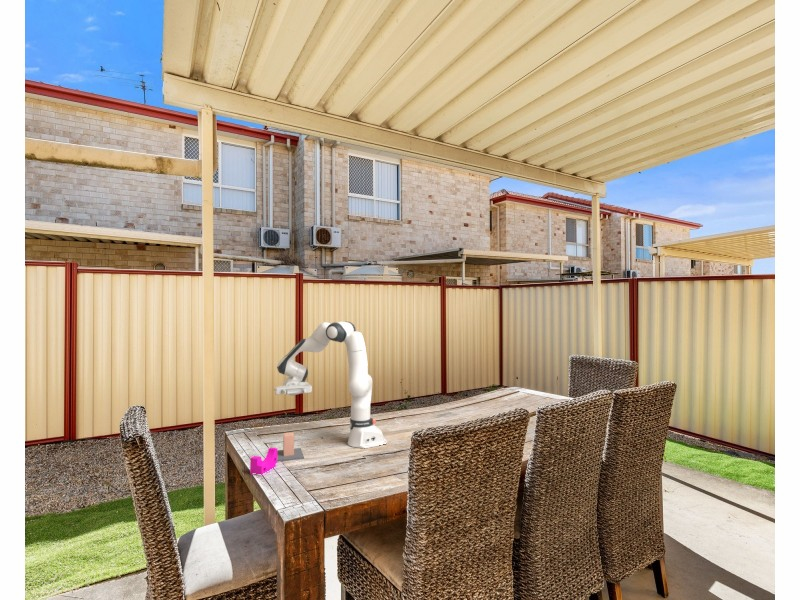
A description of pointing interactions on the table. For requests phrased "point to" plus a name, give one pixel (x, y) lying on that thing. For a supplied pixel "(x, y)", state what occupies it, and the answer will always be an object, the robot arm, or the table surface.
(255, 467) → the toy block
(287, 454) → the pillar block
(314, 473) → the table surface
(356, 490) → the table surface
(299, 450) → the mat
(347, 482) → the table surface
